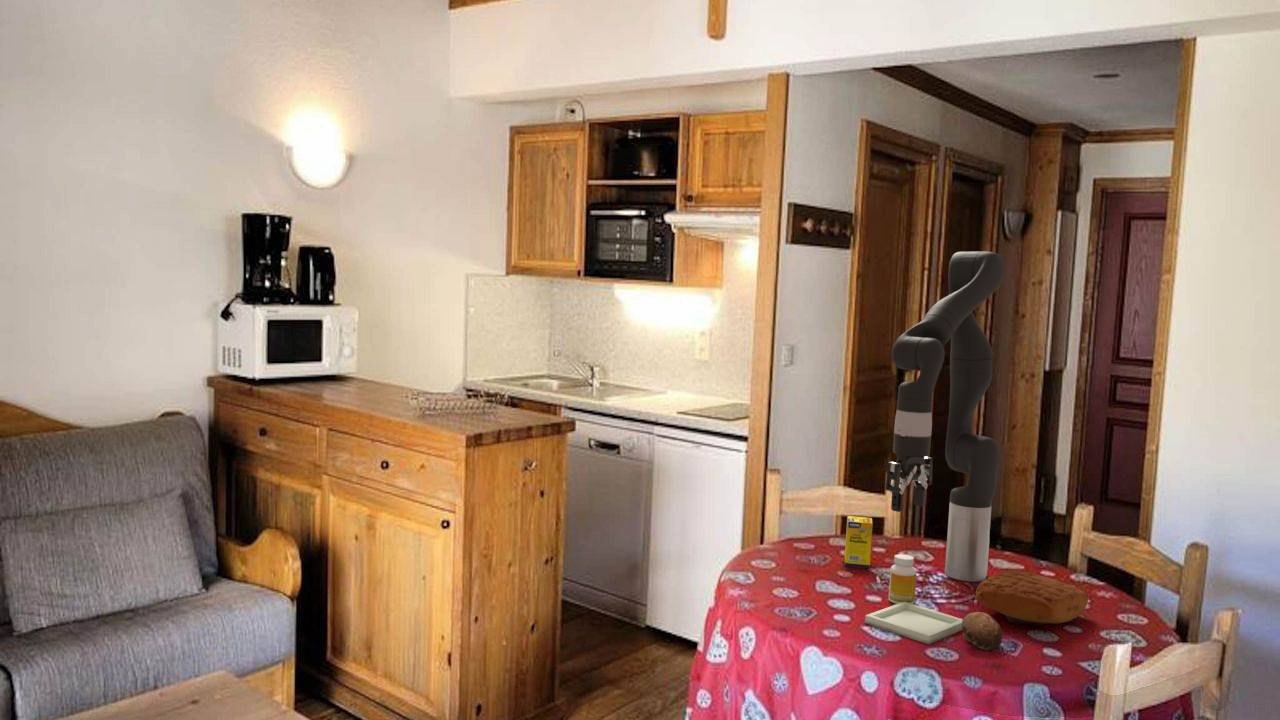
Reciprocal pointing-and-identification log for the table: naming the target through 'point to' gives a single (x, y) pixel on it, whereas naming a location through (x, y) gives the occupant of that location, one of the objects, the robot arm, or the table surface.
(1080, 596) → the clay tablet
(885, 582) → the table surface
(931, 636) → the tray
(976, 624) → the mushroom
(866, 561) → the supplement box
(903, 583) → the supplement bottle
